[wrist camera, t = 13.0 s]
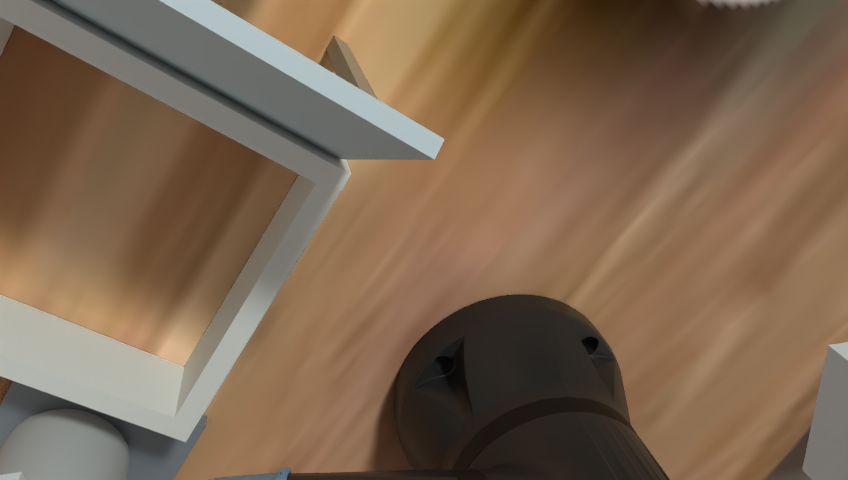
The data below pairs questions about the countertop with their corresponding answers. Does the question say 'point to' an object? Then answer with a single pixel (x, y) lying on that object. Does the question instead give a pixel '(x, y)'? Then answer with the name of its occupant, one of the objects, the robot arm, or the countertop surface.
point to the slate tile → (148, 449)
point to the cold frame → (235, 118)
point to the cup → (65, 448)
